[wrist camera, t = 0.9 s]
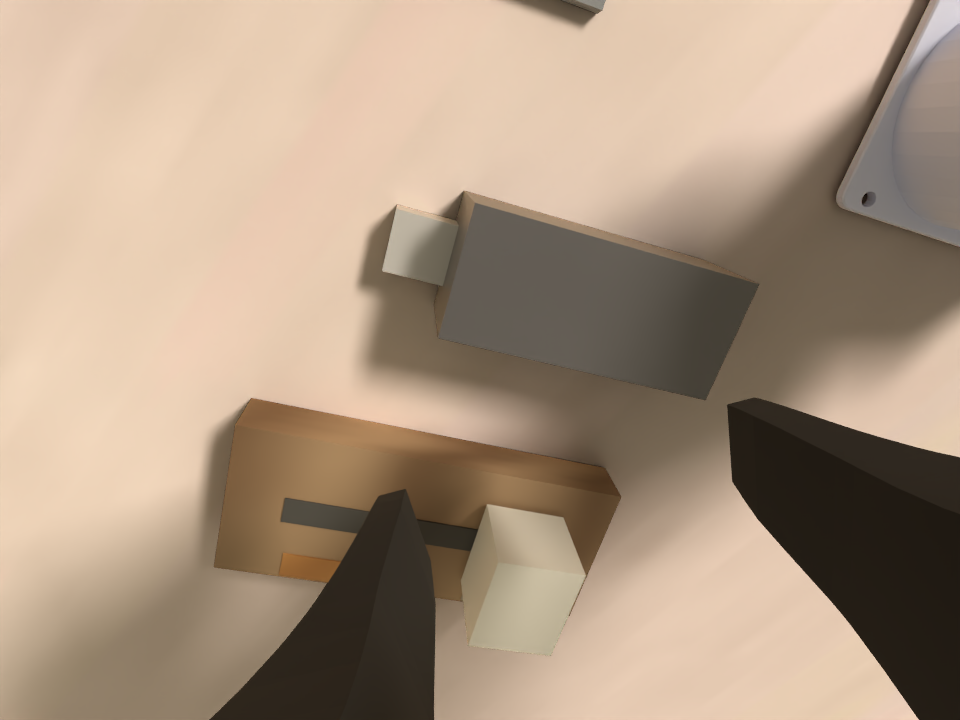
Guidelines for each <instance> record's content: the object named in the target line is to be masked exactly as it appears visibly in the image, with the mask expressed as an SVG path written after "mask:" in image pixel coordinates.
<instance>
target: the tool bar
mask: <svg viewBox="0 0 960 720" xmlns="http://www.w3.org/2000/svg"><path fill="white" fill-rule="evenodd" d="M382 271H384V272H388V273H392V274H396V275H400V276H404V277H408V278H412V279H416V280H420V281H424V282H427V283H431V284H435V285H439V287H438V291H437V295H436V299H435V302H434V310H435V318H436V326H437V334H438V338H439V339H444V340H448V341H452V342H457V343H461V344H465V345H470V346H474V347H478V348H483V349H487V350H491V351H496V352H500V353H504V354H508V355H513V356H517V357H521V358H526V359H530V360H534V361H539V362H543V363H547V364H552V365H556V366H560V367H565V368H569V369H573V370H578V371H582V372H586V373H590V374H595V375H599V376H603V377H608V378H612V379H616V380H621V381H625V382H629V383H634V384H638V385H642V386H647V387H651V388H655V389H660V390H664V391H668V392H672V393H677V394H681V395H685V396H690V397H694V398H698V399H703V400H706V398H707V396H708V394H709V391H710V389H711V387H712V385H713V383H714V381H715V379H716V376H717V374H718V372H719V370H720V368H721V366H722V364H723V361H724V359H725V357H726V355H727V353H728V351H729V348H730V346H731V344H732V342H733V340H734V338H735V336H736V333H737V331H738V329H739V327H740V325H741V323H742V321H743V318H744V316H745V314H746V312H747V310H748V308H749V305H750V303H751V301H752V299H753V297H754V295H755V293H756V290H757V288H758V286H759V284H758V283H756V282H754V281H751V280H749V279H747V278H744V277H742V276H740V275H737V274H735V273H733V272H730V271H728V270H726V269H724V268H721V267H719V266H717V265H714V264H712V263H710V262H707V261H705V260H702V259H699V258H695V257H692V256H688V255H685V254H681V253H678V252H675V251H671V250H668V249H664V248H661V247H657V246H654V245H650V244H647V243H643V242H640V241H637V240H633V239H630V238H626V237H623V236H619V235H616V234H612V233H609V232H605V231H602V230H599V229H595V228H592V227H588V226H585V225H581V224H578V223H574V222H571V221H567V220H564V219H561V218H557V217H554V216H550V215H547V214H543V213H540V212H536V211H533V210H529V209H526V208H523V207H519V206H516V205H512V204H509V203H505V202H502V201H498V200H495V199H491V198H488V197H485V196H481V195H478V194H474V193H471V192H467V191H464V193H463V197H462V200H461V204H460V208H459V212H458V216H457V219H456V220H452V219H448V218H445V217H441V216H438V215H434V214H430V213H427V212H423V211H420V210H416V209H412V208H409V207H405V206H402V205H398V204H397V207H396V211H395V216H394V220H393V225H392V229H391V233H390V238H389V242H388V247H387V251H386V255H385V260H384V264H383V269H382Z"/></svg>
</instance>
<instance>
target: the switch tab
mask: <svg viewBox="0 0 960 720" xmlns="http://www.w3.org/2000/svg"><path fill="white" fill-rule="evenodd" d="M585 577H586V575H585V572H584V569H583V567H582V564H581V562H580V559H579V556H578V554H577V551H576V549H575V546H574V544H573V541H572V538H571V536H570V533H569V531H568V528H567V526H566V523H565V520H564V518H563V517H558V516H552V515H547V514H541V513H535V512H530V511H524V510H518V509H512V508H507V507H501V506H495V505H490V504H487V506H486V509H485V511H484V514H483V517H482V520H481V523H480V526H479V529H478V532H477V535H476V538H475V541H474V544H473V547H472V549H471V552H470V555H469V558H468V561H467V564H466V567H465V570H464V573H463V576H462V579H461V586H462V595H463V605H464V615H465V624H466V634H467V644H468V646H472V647H480V648H488V649H497V650H505V651H513V652H521V653H530V654H538V655H546V656H551V654H552V652H553V650H554V648H555V645H556V643H557V641H558V638H559V636H560V634H561V632H562V629H563V627H564V625H565V622H566V620H567V618H568V616H569V613H570V611H571V609H572V606H573V604H574V602H575V599H576V597H577V595H578V593H579V590H580V588H581V586H582V583H583V581H584V579H585Z"/></svg>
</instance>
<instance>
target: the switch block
mask: <svg viewBox="0 0 960 720" xmlns="http://www.w3.org/2000/svg"><path fill="white" fill-rule="evenodd" d="M403 489H406V491H407V493H408V496H409V499H410V502H411V505H412V508H413V511H414V514H415V516H416V519H417V522H418V525H419V528H420V531H421V534H422V537H423V540H424V542H425V545H426V548H427V551H428V554H429V557H430V560H431V567H432V576H433V585H434V595H435V598H441V599H449V600H456V601H463V595H462V586H461V579H462V576H463V573H464V570H465V567H466V564H467V561H468V558H469V555H470V552H471V549H472V547H473V544H474V541H475V538H476V535H477V532H478V529H479V526H480V523H481V520H482V517H483V514H484V511H485V509H486V506H487V504H490V505H495V506H501V507H507V508H512V509H518V510H524V511H530V512H535V513H541V514H547V515H552V516H558V517H563V518H564V520H565V523H566V526H567V528H568V531H569V533H570V536H571V538H572V541H573V544H574V546H575V549H576V551H577V554H578V556H579V559H580V562H581V564H582V567H583V569H584V572H585V575H586V577H587V574H588V572H589V570H590V567H591V565H592V563H593V561H594V558H595V556H596V554H597V551H598V549H599V547H600V545H601V542H602V540H603V538H604V535H605V533H606V531H607V529H608V526H609V524H610V522H611V519H612V517H613V515H614V513H615V510H616V508H617V506H618V503H619V501H620V499H621V496H620V494H619V492H618V490H617V488H616V487H615V485H614V483H613V481H612V480H611V478H610V476H609V474H608V473H607V471H606V469H605V468H603V467H598V466H593V465H588V464H583V463H578V462H572V461H567V460H562V459H557V458H552V457H547V456H542V455H537V454H532V453H527V452H522V451H517V450H512V449H507V448H501V447H496V446H491V445H486V444H481V443H476V442H471V441H466V440H461V439H456V438H451V437H446V436H441V435H436V434H430V433H425V432H420V431H415V430H410V429H405V428H400V427H395V426H390V425H385V424H380V423H375V422H370V421H365V420H359V419H354V418H349V417H344V416H339V415H334V414H329V413H324V412H319V411H314V410H309V409H304V408H299V407H293V406H288V405H283V404H278V403H273V402H268V401H263V400H258V399H253V398H251V400H250V402H249V403H248V405H247V406H246V408H245V410H244V411H243V413H242V414H241V416H240V418H239V419H238V421H237V423H236V424H235V429H234V436H233V442H232V449H231V456H230V462H229V469H228V476H227V482H226V489H225V496H224V502H223V509H222V515H221V522H220V529H219V535H218V542H217V549H216V555H215V562H214V567H215V568H223V569H230V570H237V571H244V572H252V573H259V574H266V575H274V576H281V577H288V578H296V579H303V580H310V581H317V582H325V583H328V581H329V580H330V578H331V577H332V575H333V574H334V572H335V571H336V569H337V568H338V566H339V564H340V563H341V561H342V559H343V557H344V556H345V554H346V552H347V551H348V549H349V547H350V546H351V544H352V542H353V540H354V539H355V537H356V535H357V533H358V532H359V530H360V528H361V526H362V524H363V522H364V521H365V519H366V517H367V515H368V513H369V511H370V510H371V508H372V506H373V504H374V502H375V501H376V499H377V498H378V496H380V495H383V494H387V493H391V492H395V491H399V490H403ZM586 577H585V579H586ZM585 579H584V581H585ZM584 581H583V583H584ZM583 583H582V586H583ZM582 586H581V588H582ZM581 588H580V590H581ZM580 590H579V593H580ZM579 593H578V595H579ZM578 595H577V597H578ZM577 597H576V599H577ZM576 599H575V602H576ZM575 602H574V604H575ZM574 604H573V606H574ZM573 606H572V609H573ZM572 609H571V611H572ZM571 611H570V613H571ZM570 613H569V615H570Z"/></svg>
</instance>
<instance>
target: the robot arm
mask: <svg viewBox="0 0 960 720" xmlns="http://www.w3.org/2000/svg"><path fill="white" fill-rule="evenodd" d="M866 193H867V195H868V197H867V201H866V202H865V203H864V204H863V205H862V202H861V201H862V197H863V196H864V195H865V194H866ZM836 202H837V204H838V206H839V207H841V208H842V209H845V210H848V211H851V212H854V213H857V214H860V215H863V216H866V217H869V218H872V219H875V220H879V221H882V222H885V223H888V224H891V225H894V226H897V227H900V228H903V229H906V230H909V231H912V232H915V233H918V234H921V235H924V236H927V237H930V238H933V239H936V240H939V241H942V242H945V243H948V244H951V245H954V246H958V247H960V0H930V2H929V4H928V6H927V8H926V10H925V12H924V14H923V16H922V18H921V20H920V22H919V25H918V27H917V29H916V31H915V33H914V35H913V37H912V39H911V41H910V43H909V45H908V47H907V49H906V51H905V53H904V55H903V57H902V60H901V62H900V64H899V66H898V68H897V70H896V72H895V74H894V76H893V78H892V80H891V82H890V84H889V86H888V88H887V90H886V92H885V94H884V97H883V99H882V101H881V103H880V105H879V107H878V109H877V111H876V113H875V115H874V117H873V119H872V121H871V123H870V125H869V127H868V129H867V132H866V134H865V136H864V138H863V140H862V142H861V144H860V146H859V148H858V150H857V152H856V154H855V156H854V158H853V160H852V162H851V164H850V166H849V169H848V171H847V173H846V175H845V177H844V179H843V181H842V183H841V185H840V187H839V189H838V192H837V195H836ZM727 408H728V423H729V439H730V454H731V469H732V482H733V483H734V485H735V486H736V488H737V489H738V491H739V492H740V494H741V495H742V497H743V499H744V500H745V502H746V503H747V504H748V506H749V507H750V509H751V510H752V512H753V513H754V514H755V516H756V517H757V519H758V520H759V521H760V522H761V523H762V525H763V526H764V527H765V528H766V529H767V530H768V531H769V533H770V534H771V535H772V536H773V537H774V538H775V539H776V541H777V542H778V543H779V544H780V545H781V546H782V547H783V548H784V550H785V551H786V552H787V553H788V554H789V555H790V556H791V557H792V558H793V560H794V561H795V562H796V563H797V564H798V565H799V566H800V567H801V568H802V569H803V571H804V572H805V573H806V574H807V575H808V576H809V577H810V578H811V579H812V581H813V582H814V583H815V584H816V585H817V586H818V587H819V588H820V589H821V591H822V592H823V593H824V594H825V595H826V596H827V597H828V598H829V599H830V601H831V602H832V603H833V604H834V605H835V606H836V608H837V609H838V610H839V611H840V612H841V614H842V615H843V616H844V617H845V618H846V620H847V621H848V622H849V623H850V625H851V626H852V627H853V629H854V630H855V631H856V633H857V634H858V635H859V637H860V638H861V640H862V641H863V642H864V644H865V645H866V646H867V648H868V649H869V650H870V652H871V653H872V654H873V656H874V657H875V658H876V660H877V661H878V663H879V664H880V665H881V667H882V668H883V669H884V671H885V672H886V674H887V675H888V676H889V678H890V679H891V681H892V682H893V684H894V685H895V686H896V688H897V689H898V691H899V692H900V694H901V695H902V696H903V698H904V699H905V701H906V702H907V703H908V705H909V706H910V708H911V709H912V711H913V712H914V713H915V715H916V716H917V718H918V719H919V720H960V457H956V456H951V455H946V454H942V453H937V452H933V451H929V450H925V449H921V448H917V447H913V446H909V445H906V444H902V443H899V442H895V441H891V440H888V439H884V438H881V437H877V436H874V435H871V434H867V433H864V432H861V431H857V430H854V429H851V428H848V427H845V426H842V425H839V424H836V423H833V422H830V421H827V420H824V419H821V418H818V417H815V416H812V415H809V414H806V413H803V412H800V411H797V410H794V409H791V408H788V407H785V406H782V405H779V404H775V403H772V402H769V401H765V400H762V399H758V398H751V399H747V400H744V401H740V402H736V403H732V404H728V405H727ZM434 666H435V595H434V585H433V576H432V567H431V560H430V557H429V554H428V551H427V548H426V545H425V542H424V540H423V537H422V534H421V531H420V528H419V525H418V522H417V519H416V516H415V514H414V511H413V508H412V505H411V502H410V499H409V496H408V493H407V491H406V489H403V490H399V491H395V492H391V493H387V494H383V495H380V496H378V498H377V499H376V501H375V502H374V504H373V506H372V508H371V510H370V511H369V513H368V515H367V517H366V519H365V521H364V522H363V524H362V526H361V528H360V530H359V532H358V533H357V535H356V537H355V539H354V540H353V542H352V544H351V546H350V547H349V549H348V551H347V552H346V554H345V556H344V557H343V559H342V561H341V563H340V564H339V566H338V568H337V569H336V571H335V572H334V574H333V575H332V577H331V578H330V580H329V581H328V583H327V584H326V586H325V587H324V589H323V590H322V592H321V593H320V595H319V597H318V598H317V600H316V601H315V602H314V604H313V605H312V607H311V608H310V609H309V611H308V612H307V613H306V615H305V616H304V617H303V619H302V620H301V621H300V622H299V624H298V625H297V626H296V627H295V629H294V630H293V631H292V632H291V634H290V635H289V636H288V637H287V639H286V640H285V641H284V642H283V643H282V645H281V646H280V647H279V648H278V649H277V650H276V651H275V653H274V654H273V655H272V656H271V657H270V658H269V659H268V660H267V661H266V662H265V664H264V665H263V666H262V667H261V668H260V669H259V670H258V671H257V672H256V673H255V674H254V676H253V677H252V678H251V679H250V680H249V681H248V682H247V683H246V684H245V685H244V686H243V687H242V688H241V690H240V691H239V692H238V693H237V694H236V695H235V696H234V697H232V698H231V699H230V700H229V701H228V702H227V703H226V704H225V705H224V706H223V707H222V708H221V709H220V710H219V711H218V712H217V713H216V714H215V715H214V716H213V717H212V718H211V719H210V720H434Z"/></svg>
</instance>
